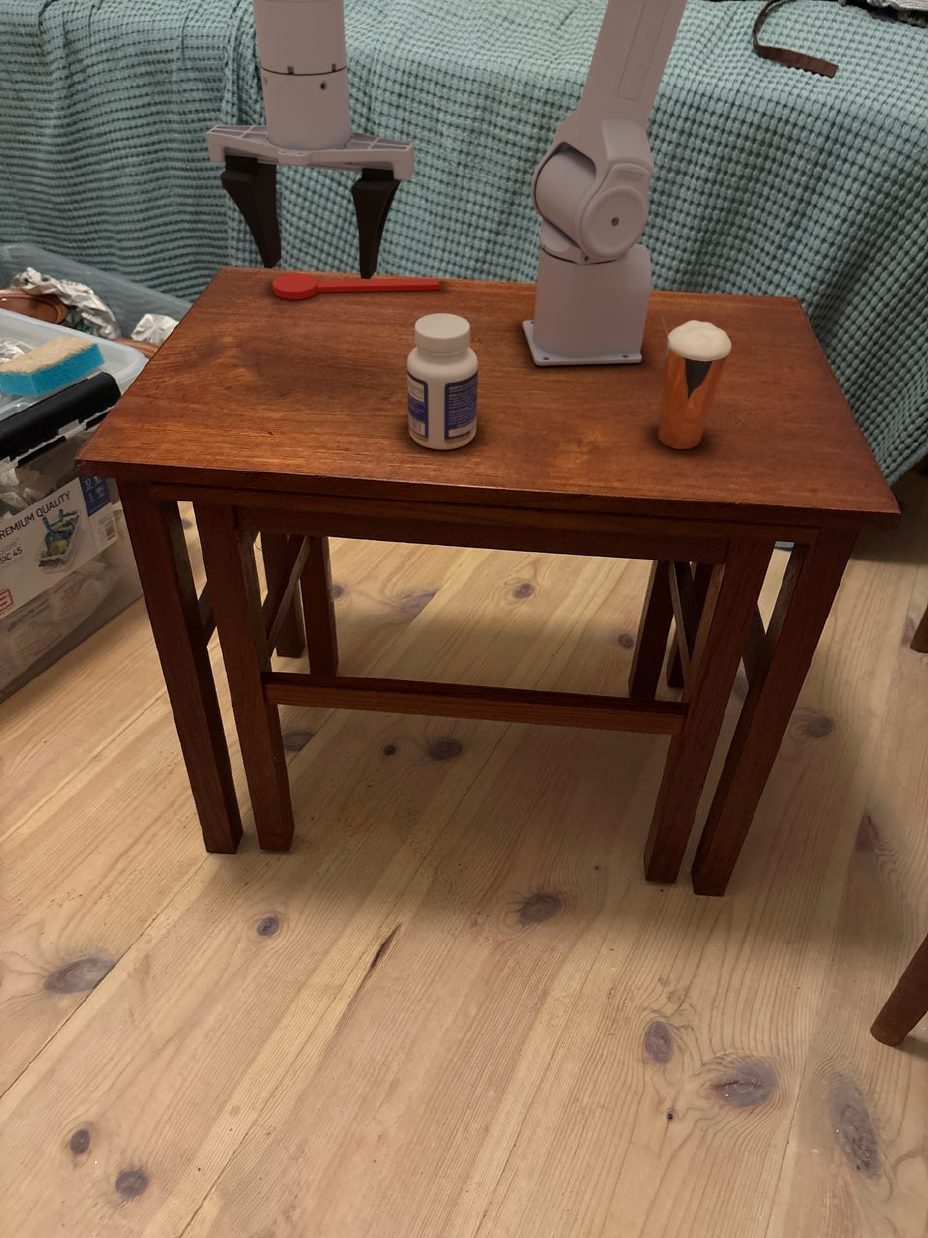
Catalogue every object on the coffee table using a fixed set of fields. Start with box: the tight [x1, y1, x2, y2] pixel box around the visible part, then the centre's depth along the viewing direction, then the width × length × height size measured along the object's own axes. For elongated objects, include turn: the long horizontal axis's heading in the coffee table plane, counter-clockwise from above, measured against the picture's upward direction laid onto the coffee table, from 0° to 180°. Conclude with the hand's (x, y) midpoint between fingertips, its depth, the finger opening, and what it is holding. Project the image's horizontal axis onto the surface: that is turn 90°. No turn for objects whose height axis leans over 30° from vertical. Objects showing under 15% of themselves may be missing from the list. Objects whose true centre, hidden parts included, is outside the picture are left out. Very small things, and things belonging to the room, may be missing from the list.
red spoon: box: [272, 272, 440, 300], centre depth 90 cm, size 16×4×1 cm, turn 96°
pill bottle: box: [406, 312, 479, 450], centre depth 69 cm, size 5×5×9 cm
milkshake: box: [657, 316, 732, 450], centre depth 69 cm, size 4×5×10 cm
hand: (320, 268), depth 70 cm, fingers open, 7 cm apart
